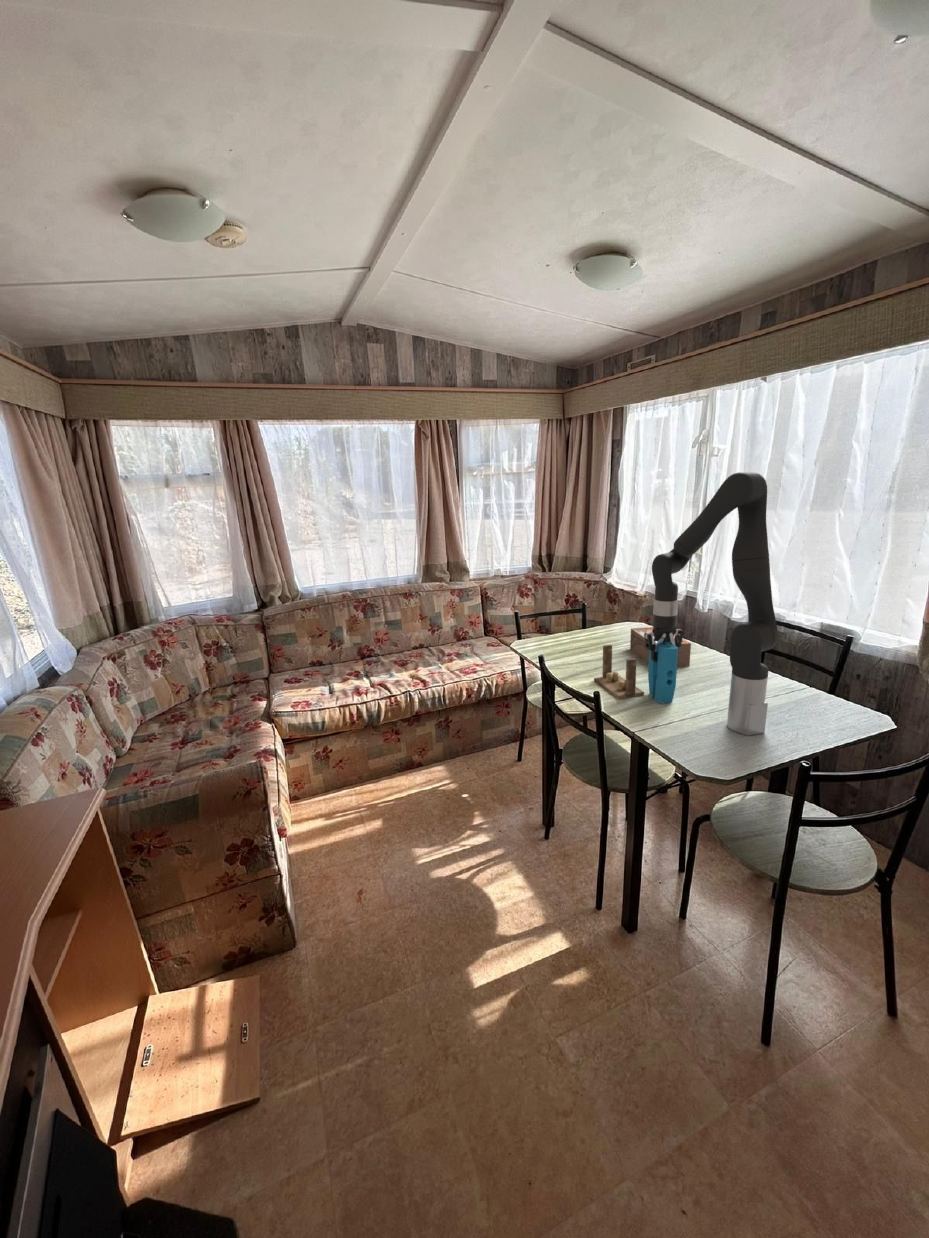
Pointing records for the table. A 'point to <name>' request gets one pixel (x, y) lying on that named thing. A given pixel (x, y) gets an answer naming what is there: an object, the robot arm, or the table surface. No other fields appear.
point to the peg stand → (618, 677)
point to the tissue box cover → (639, 640)
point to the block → (663, 673)
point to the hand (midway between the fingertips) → (662, 660)
